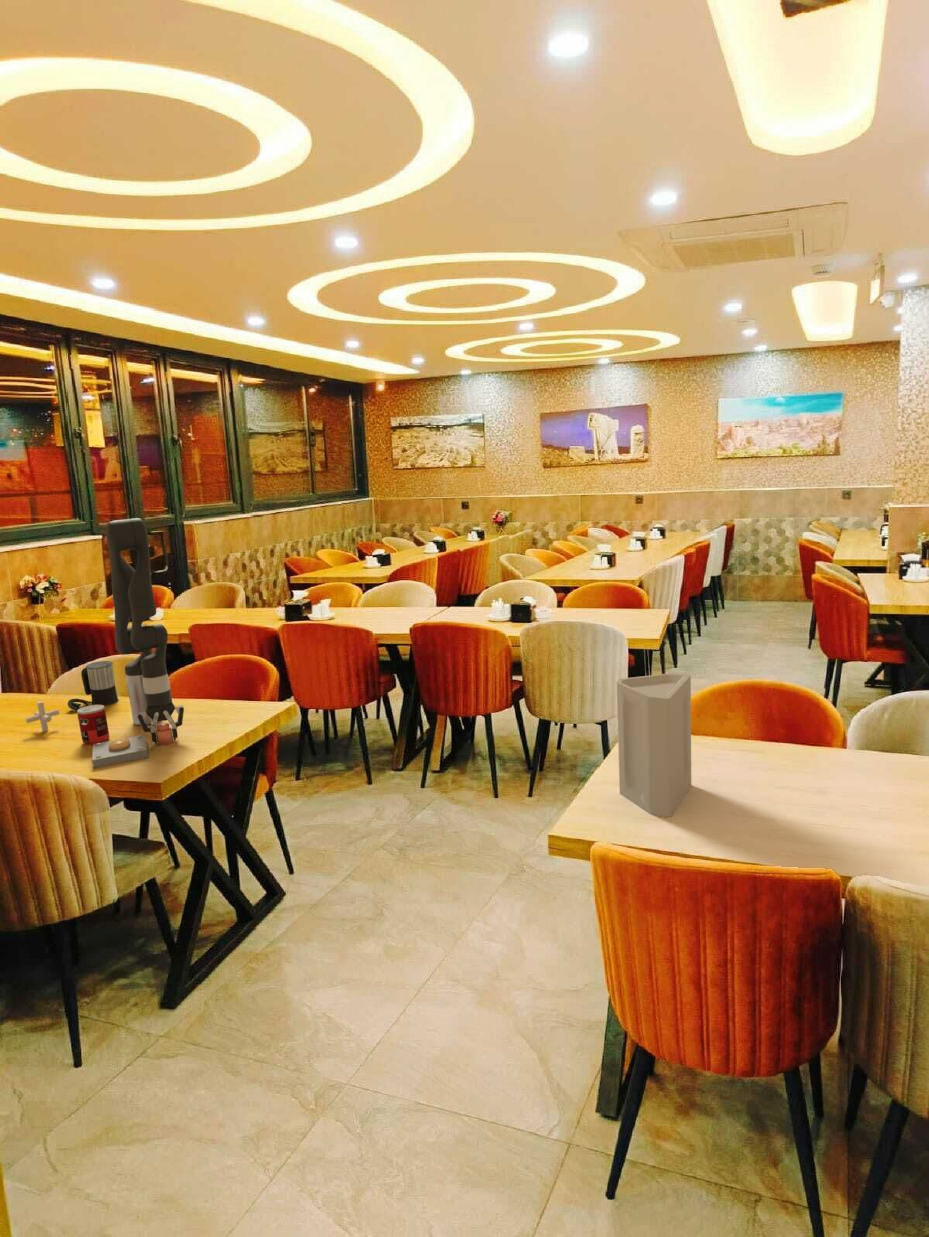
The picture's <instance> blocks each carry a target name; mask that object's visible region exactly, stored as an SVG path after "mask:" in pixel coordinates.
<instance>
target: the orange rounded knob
mask: <svg viewBox="0 0 929 1237" xmlns="http://www.w3.org/2000/svg"><path fill="white" fill-rule="evenodd" d="M155 732H156V738H157V745H158V746H168V745H171V744H173V743H174V740H173V734H172V726H170V723H169V722H161V723H158V724H156V729H155Z"/></svg>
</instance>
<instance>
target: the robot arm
mask: <svg viewBox="0 0 929 1237" xmlns="http://www.w3.org/2000/svg"><path fill="white" fill-rule="evenodd" d="M105 532H106V534H105V535H106V540H107V541H106V542H107V548H108V554H109V560H110V561H109V562H110V570H111V571H110V574H111V576H110V577H111V594H112V600H113V601H112V603H113V608H114V609H113V610H114V643H115V648H116V650H117V652H118V653H119V654H121V655H131V654H137V653H140V655H139V656H138V657H137V658H136V659H133V660H132V661H130V662H129V663H127V664H126V665H125V666H124V672H125V681H126V685H127V692H128V698H129V704H130V705H129V706H130V709H131V710H130V711H131V715H132V721H133V722H132V723H133V724H134V725H137V726H141V727H142V730H143V732H144V733H150V736H151V742H152V743H154V744H155V745H158V743H157V736H156V728H157V725H158V724H157V723H159V722H162V721H164V722H165V721H167V722H168V723H169V726H170V727H171V729H172V736H173V741H176V740H177V739H178V736H179V735H178V727H180V726H182V725H183V718H184V713H185V708H184V705H182V704H181V705H178V706H177V705H175V704H174V703H173V696H172V692H171V690H172V689H171V684H170V680H169V679H170V678H169V675H168V670H167V662H166V654H167V652H166V651H167V647H168V646H167V645H168V639H169V636H168V630H167V628H166V627H165V626H164V625H163V624H161V623H156V624H149V625H147V624H146V623H143V622H144V621H145V620H147V619H150V618H152V617H154V616H156V614H157V606H156V601H155V597H154V591H153V586H152V574H151V558H150V546H149V544H150V543H149V537H148V530H147V527H146V524H145V522H144V520H143V519H142V518H139V517H135V518H126V519H118V520H112V521H108V523H107V524H106V529H105ZM131 550H132V551H133V550H137V554H138V555H137V557H138V559H137V564H136V565H135V566H136V567H135V569H134V567H132V566H131V565H130V563H128V562H127V560H126V559H125V558H124V556H123V555H122V552H124V551H125V552H126V551H131ZM130 621H131V625H129V623H130ZM153 649H155V650H154V651H153ZM174 711H176V713H177V721H174V718H173V716H172V715H173V713H174ZM148 725H150V726H148Z"/></svg>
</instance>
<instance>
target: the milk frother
mask: <svg viewBox="0 0 929 1237" xmlns="http://www.w3.org/2000/svg"><path fill="white" fill-rule="evenodd" d="M113 663H114V662H113V661H109V660H106V661H105V660H104V661H102V660H101V661H96V662H95V661H94V662H91V663H89V664H86V665H85V667H83V669H82V670H81V671H80V672H81V673H80V674H81V679H82V683H83V684H82V685H83V688H84V692H85V695H87V696H90V695H91V701H89V700H85V699H81V698H71V699H68V701H67V707H68V708H69V709H70V710H73V711H76V712H77V710H78V709H80V708H83V707H86V706H90V705H89V703H90V704H91V705H103V706H104V707H105V706H109V705H113V704H116V703H118V702H119V698H118V693H117V689H116V682H115V673H114V666H113ZM82 704H83V706H81V705H82Z"/></svg>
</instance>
